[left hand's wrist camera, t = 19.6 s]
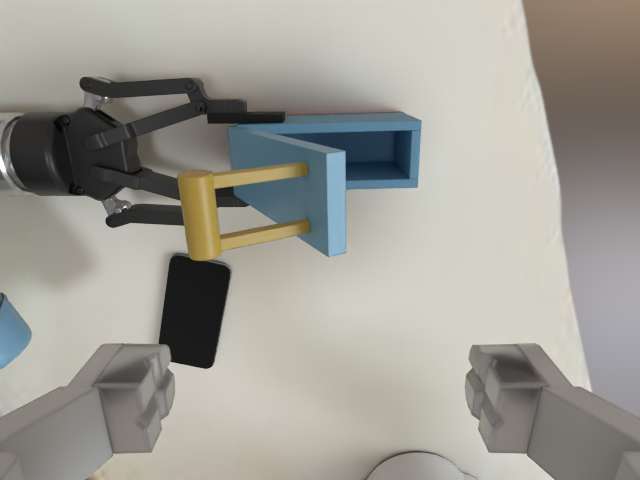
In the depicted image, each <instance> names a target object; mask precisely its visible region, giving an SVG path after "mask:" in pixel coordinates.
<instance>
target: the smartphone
mask: <svg viewBox="0 0 640 480" xmlns="http://www.w3.org/2000/svg"><path fill="white" fill-rule="evenodd" d="M231 273H232V272H231V268H230V267H229V266H228V265H227V264H224V263H220V262H215V261H211V260H205V261H196V260H192V259H190V257H189V256H188V255H184V254H176V255H174V256H173V257H172V258H171V260H170V264H169V271H168V278H167V286H166V293H165V300H164V308H163V315H162V322H161V330H160V337H159V344H166V345H167V346H168V347H169V349H170V354H171V361H170V362H175V363H179V364H184V365H189V366H194V367H199V368H205V369H207V368H210V367H212V366H213V364H214V361H215V356H216V352H217V346H218V342H219V336H220V331H221V325H222V320H223V315H224V309H225V304H226V299H227V294H228V289H229V284H230V279H231Z"/></svg>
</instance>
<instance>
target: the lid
mask: <svg viewBox="0 0 640 480" xmlns="http://www.w3.org/2000/svg"><path fill="white" fill-rule="evenodd" d="M227 128H228V138H229V148H230V158H231V168H232V171H225V172H217V173H212V172H210V171H205V170H195V171H187V172H183V173H180V174H178V176H177V179H178V186H179V193H180V200H181V206H182V213H183V220H184V227H185V234H186V241H187V247H188V254H189V257H190V259H192V260H196V261H205V260H211V259H214V258H217V257H219V256H220V255H221V253H222V251H224V250H229V249H234V248H239V247H243V246H248V245H253V244H258V243H263V242H267V241H272V240H277V239H282V238H286V237H291V236H297V237H299V238H300V239H302V240H303V241H305V242H306V243H308V244H309V245H311V246H312V247H314V248H315V249H317V250H318V251H320V252H321V253H323V254H325V255H326V256H328V257H331V256H335V255H339V254H343V253H346V152H345V151H344V150H340V149H335V148H331V147H327V146H323V145H319V144H315V143H310V142H306V141H302V140H298V139H294V138H289V137H285V136H281V135H277V134H273V133H269V132H264V131H260V130H256V129H252V128H248V127H244V126H231V127H227ZM232 186H233V188H234V195H235V196H237V197H238V198H240V199H241V200H243V201H244V202H246V203H247V204H249V205H250V206H252V207H253V208H255V209H257V210H258V211H260V212H261V213H263V214H264V215H266V216H267V217H269V218H270V219H272V220H273V221H275V222H276V223H278V224H275V225H270V226H265V227H259V228H254V229H249V230H244V231H239V232H233V233H228V234H223V235H220V231H219V222H218V214H217V205H216V197H215V189H218V188H225V187H232Z"/></svg>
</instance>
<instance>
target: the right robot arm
mask: <svg viewBox="0 0 640 480" xmlns="http://www.w3.org/2000/svg"><path fill="white" fill-rule="evenodd" d="M80 87H81V88H82V89H83V90H84V91H85V97H84V107H81V108H79V109H77V110H76V111H74V112H39V113H27V114H24V113H0V196H33V195H40V196H88V197H91V198H93V199H95V200H98V201H102V203H103V205H104V207H105V209H106V211H107V213H108V215H109V216H108V217H107V218H106V224H107V225H108V226H109V227H111V228H115V227H118V226H122V225H125V224H128V223H145V224H164V225H183V226H184V220H183V213H182V206H176V205H158V204H135V205H131V203H130V202H129V201H126V200H119V199H117V198H116V196H115V195H116V194H117V193H118V192H119V191H121V190H122V189H123V188H124V187H128V188H131V189H136V190H140V189H141V190H145V191H149V192H152V193H156V194H159V195H163V196H166V197H170V198H173V199H177V200H180V193H179V186H178V179H177V178H173V177H170V176H166V175H163V174H159V173H156V172H153V171H152V170H151V169H148V168H144V167H141V164H140V160H139V158H138V155H137V138H136V136H139V135H142V134H145V133H148V132H151V131H154V130H157V129H160V128H163V127H166V126H169V125H172V124H175V123H178V122H181V121H184V120H187V119H190V118H193V117H196V116H199V115H202V114H207V119H208V124H211V123H283V122H284V121H285V112H247V101H244V100H242V99H212V98H210V97H208V95H207V94H206V92H205V90H204V87H203V82H202V81H201V80H200V79H199V78H180V79H165V80H150V81H134V82H115V81H112V80H109V79H105V78H102V77H83V78H82V79H81V80H80ZM184 93H187V95H188V97H189V99H190V101H191V103H188V104H185V105H182V106H179V107H176V108H173V109H170V110H167V111H164V112H161V113H158V114H155V115H152V116H149V117H146V118H143V119H140V120H137V121H134V122H131V123H128V124H125V125H123V124H121V123H120V122H118V121H117V120H115V119H114V118H112V117H111V116H109V115H108V114H106V113H105V112H103V111H102V110H100V107H101V105H103V104H110V103H112V101H113V99H114V98H122V97H137V96H153V95H168V94H184ZM215 197H216V205H217V208H218V207H246V206H249V204H247V203H246V202H244V201H243V200H241V199H240V198H238V197H237V196H235V195H234V188H233V186H232V187H225V188H218V189H215ZM180 201H181V200H180ZM30 340H31V330H30V328H29V326H28V325H27V323H26V322H25V321H24V320H23V318H22V317H21V316H20V315H19V313H18V312H17V311H16V309H15V308H14V307H13V306H12V304H11V303H10V302H9V301H8V299H7V296H6V295H4V294H3V293H0V369H2V368H3V367H5V366H6V365H7V364H9V363H10V362H11V361H12V360H13V359H15V358H16V357H17V356H18V355H19V354H20V353H21V352H22V351H23V350H24V349H25V348H26V347H27V345H28V344H29V342H30Z"/></svg>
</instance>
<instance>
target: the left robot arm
mask: <svg viewBox="0 0 640 480" xmlns="http://www.w3.org/2000/svg"><path fill="white" fill-rule="evenodd" d="M170 361H171V354H170V349H169V347H168V346H167V345H166V344H124V343H111V344H103V345H101V346H100V347H99V348H98V349H97V350H96V352H95V353H94V354H93V355H92V356H91V358H90V359H89V360H88V361H87V363H86V364H85V365H84V366H83V367H82V369H81V370H80V371H79V372H78V373H77V375H76V376H75V377H74V378H73V380H72V381H71V382H70V383H69V384H68V386H67V387H59V388H57V389H55V390H53V391H51V392H49V393H47V394H45V395H43V396H41V397H39V398H37V399H35V400H34V401H32V402H30V403H28V404H26V405H24V406H22V407H20V408H18V409H16V410H14V411H12V412H10V413H9V414H7V415H5V416H3V417H1V418H0V480H85V479H87V478H88V477H89V476H90V475H91V474H92V473H93V472H95V471H96V470H97V469H98V468H99V467H100V466H102V465H103V464H104V463H105V462H106V461H107V460H108V459H110V458H111V457H112V456H113V453H148V452H152V450H153V448H154V445H155V443H156V441H157V439H158V437H159V434H160V432H161V430H162V427H161V421H160V420H162V419H163V418H164V417H166V416H167V415H168V414H169V412H170V410H171V407H172V404H173V399H174V394H175V380H174V374H173V373H172V372H171V371H170V370H169V369H168V368H167V367H168V365H169V363H170ZM469 361H470V363H471V365H472V367H473V368H472V369H471V370H470V371H469V372H468V373H467V374H466V381H465V393H466V400H467V404H468V407H469V410H470V412H471V414H472V415H473V416H474V417H476V418H477V419H478V420H480V421H479V427H478V430H479V432H480V434H481V436H482V439H483V441H484V443H485V445H486V447H487V450H488V452H491V453H527V456H528V457H530V458H531V459H532V460H533V461H534V462H535V463H536V464H538V465H539V466H540V467H541V468H542V469H543V470H544V471H546V472H547V473H548V474H549V475H550V476H551V477H552V478H554V479H555V480H640V418H639V417H637V416H635V415H633V414H631V413H629V412H627V411H626V410H624V409H622V408H620V407H618V406H616V405H614V404H612V403H610V402H608V401H606V400H605V399H603V398H601V397H599V396H597V395H595V394H593V393H591V392H589V391H587V390H585V389H583V388H582V387H573V386H572V384H571V383H570V382H569V381H568V380H567V378H566V377H565V376H564V375H563V373H562V372H561V371H560V370H559V369H558V367H557V366H556V365H555V364H554V363H553V361H552V360H551V359H550V358H549V357H548V355H547V354H546V353H545V352H544V351H543V349H542V348H541V347H540V346H539V345H537V344H535V343H525V344H501V345H472V347H471V349H470V353H469ZM366 480H477V479H476V478H474V477H472V476H470V475H467V474H464V473H462V472H461V471H460V470H459V469H458V468H457V467H456V466H455V465H454V464H453V463H451V462H450V461H448V460H447V459H445V458H443V457H441V456H438V455H435V454H430V453H422V452H415V453H406V454H401V455H398V456H395V457H392V458H390V459H388V460H386V461H384V462H383V463H381V464H380V465H379V466H378V467H376V468H375V469H374V470H373V472H372V473H371V474H370V476H369V477H368V478H367V479H366Z"/></svg>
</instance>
